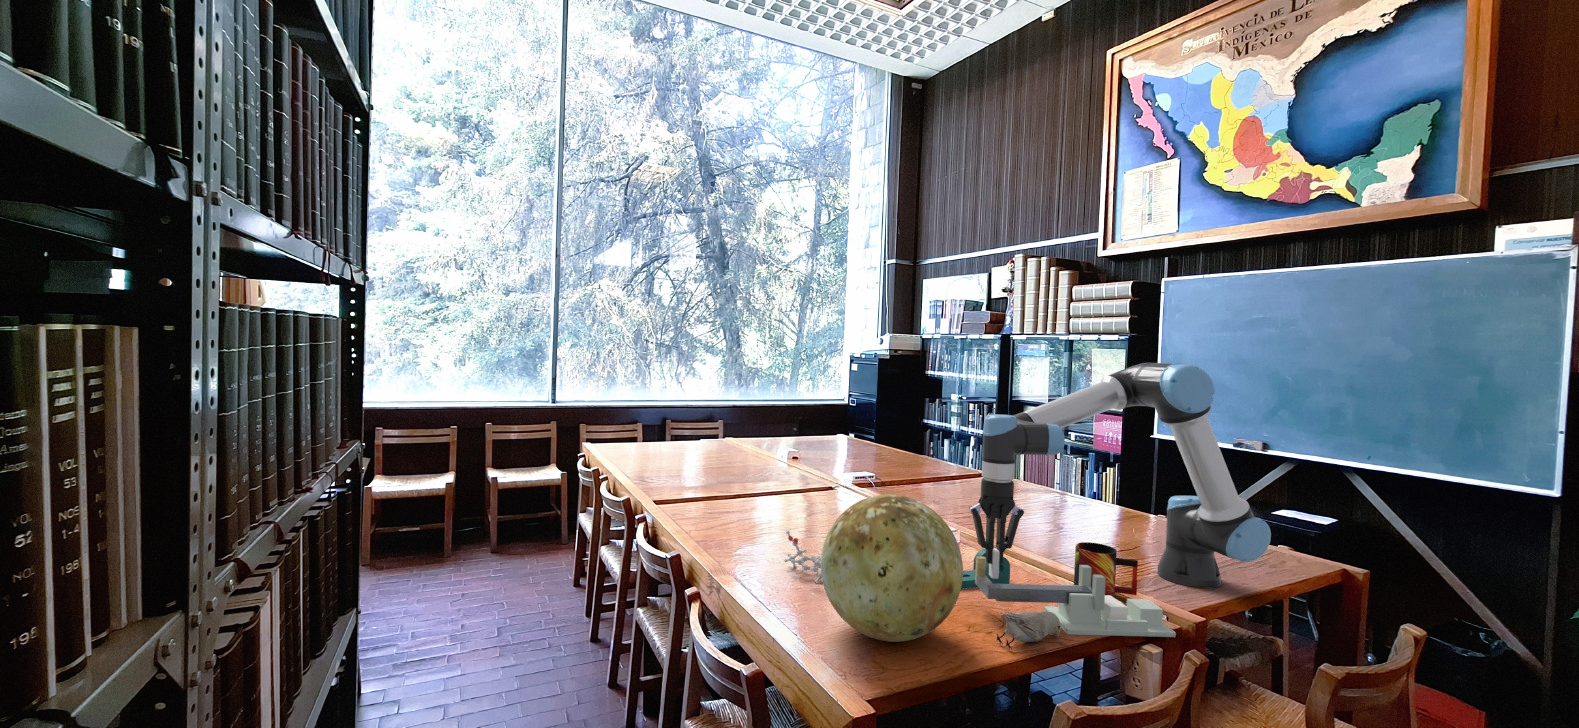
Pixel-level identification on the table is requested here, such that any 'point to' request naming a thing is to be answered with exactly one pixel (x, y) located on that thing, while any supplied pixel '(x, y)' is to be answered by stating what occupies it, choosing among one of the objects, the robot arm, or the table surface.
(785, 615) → the table surface
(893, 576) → the globe
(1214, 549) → the robot arm
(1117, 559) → the mug
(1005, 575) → the bracket
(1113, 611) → the block
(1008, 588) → the bent bar
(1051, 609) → the stepped block fixture
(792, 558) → the molecular model
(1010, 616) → the decorative bird
